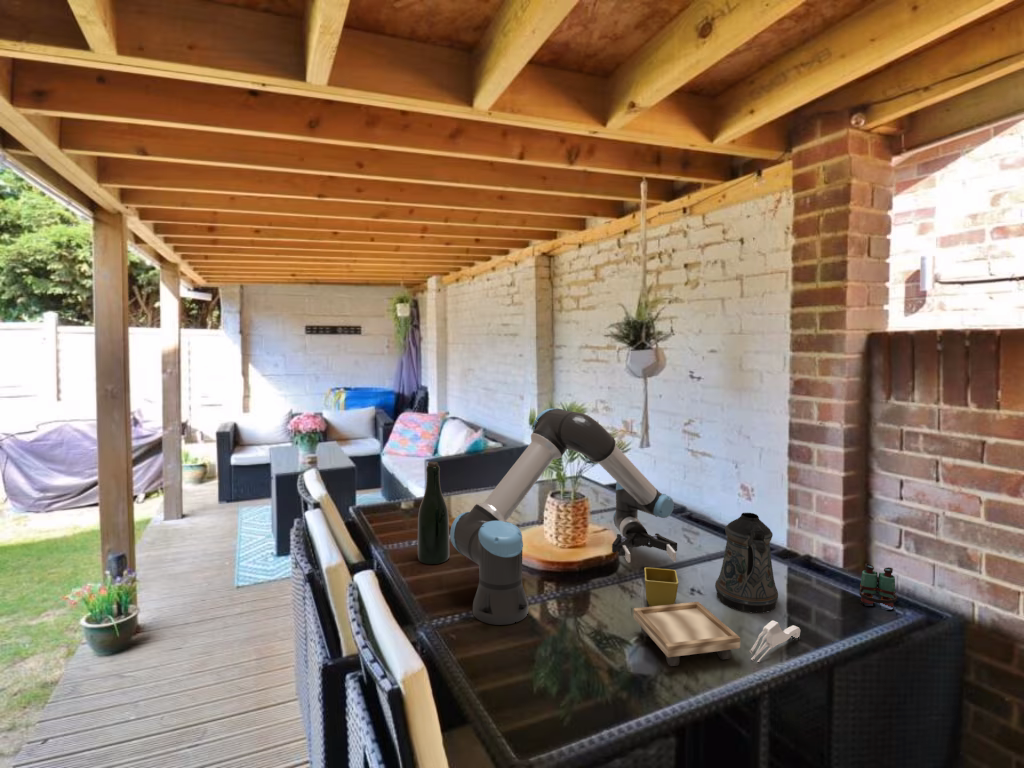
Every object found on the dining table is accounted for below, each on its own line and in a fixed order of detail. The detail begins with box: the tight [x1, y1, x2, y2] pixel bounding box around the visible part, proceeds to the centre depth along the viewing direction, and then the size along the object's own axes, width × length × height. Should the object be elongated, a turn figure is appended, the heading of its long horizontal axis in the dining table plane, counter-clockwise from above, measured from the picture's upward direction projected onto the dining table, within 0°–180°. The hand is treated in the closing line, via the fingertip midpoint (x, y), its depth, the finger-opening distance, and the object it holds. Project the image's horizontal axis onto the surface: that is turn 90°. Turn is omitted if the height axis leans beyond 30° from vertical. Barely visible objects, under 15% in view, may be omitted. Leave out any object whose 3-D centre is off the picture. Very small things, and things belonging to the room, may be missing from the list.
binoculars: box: [859, 563, 899, 607], centre depth 157 cm, size 9×11×10 cm
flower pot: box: [643, 567, 679, 607], centre depth 156 cm, size 9×9×9 cm
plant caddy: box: [633, 601, 741, 667], centre depth 135 cm, size 18×18×6 cm
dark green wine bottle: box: [417, 461, 450, 565], centre depth 187 cm, size 10×10×33 cm
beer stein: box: [714, 512, 779, 614], centre depth 158 cm, size 16×19×25 cm
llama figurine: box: [748, 619, 801, 663], centre depth 134 cm, size 2×11×18 cm
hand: (652, 557), depth 165 cm, fingers open, 13 cm apart
